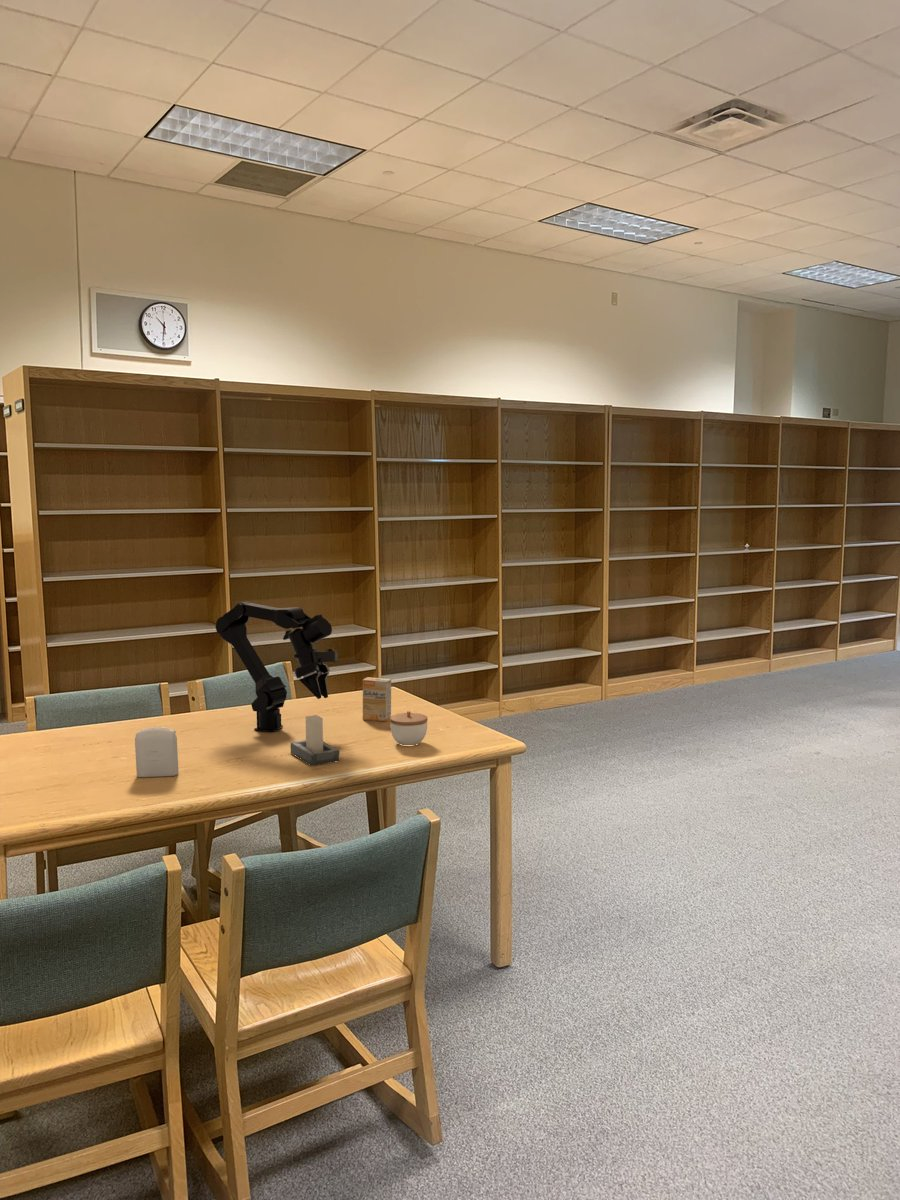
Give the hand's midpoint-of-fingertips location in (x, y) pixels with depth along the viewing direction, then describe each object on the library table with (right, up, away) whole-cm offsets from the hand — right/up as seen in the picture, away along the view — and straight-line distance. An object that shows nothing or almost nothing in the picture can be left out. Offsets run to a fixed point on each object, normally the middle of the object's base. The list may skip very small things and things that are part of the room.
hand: (323, 698), depth 251 cm
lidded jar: (+25, -13, -3) cm, 28 cm away
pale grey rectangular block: (0, -13, -17) cm, 21 cm away
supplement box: (+14, -10, +24) cm, 29 cm away
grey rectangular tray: (0, -14, -16) cm, 22 cm away
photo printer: (-37, -16, -32) cm, 52 cm away
